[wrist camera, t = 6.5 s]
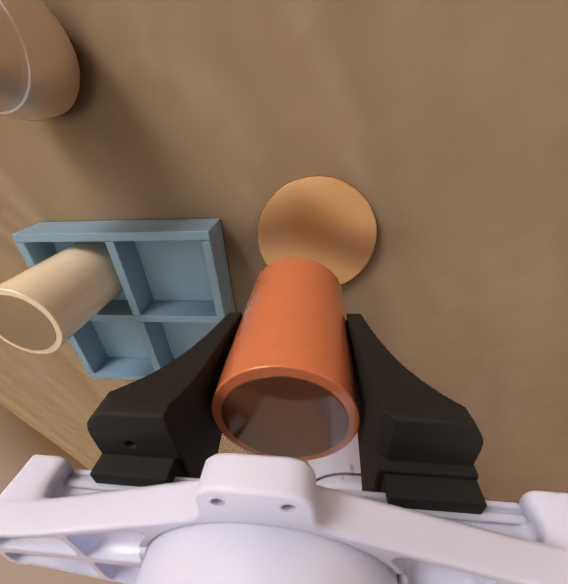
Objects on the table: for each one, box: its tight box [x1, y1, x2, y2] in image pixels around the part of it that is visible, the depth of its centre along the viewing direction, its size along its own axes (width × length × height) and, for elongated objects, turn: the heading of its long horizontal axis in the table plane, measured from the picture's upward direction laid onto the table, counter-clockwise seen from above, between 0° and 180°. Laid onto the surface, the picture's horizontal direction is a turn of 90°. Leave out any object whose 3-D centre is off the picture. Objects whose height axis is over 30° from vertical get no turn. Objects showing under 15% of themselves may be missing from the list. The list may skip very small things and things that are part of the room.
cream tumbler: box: [0, 242, 123, 354], centre depth 22 cm, size 5×5×8 cm
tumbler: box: [211, 257, 360, 461], centre depth 14 cm, size 5×5×8 cm
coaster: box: [257, 176, 377, 285], centre depth 22 cm, size 9×9×1 cm
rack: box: [11, 218, 235, 380], centre depth 26 cm, size 15×15×3 cm
